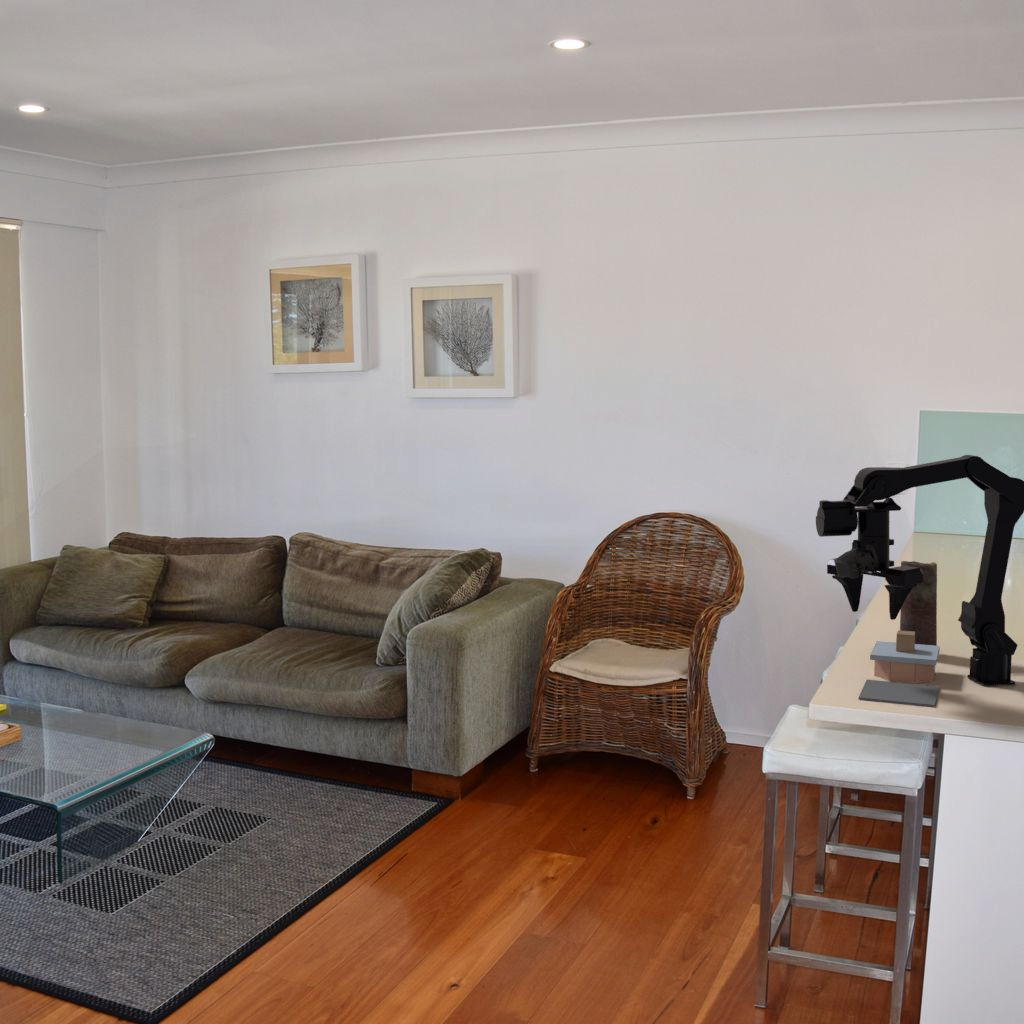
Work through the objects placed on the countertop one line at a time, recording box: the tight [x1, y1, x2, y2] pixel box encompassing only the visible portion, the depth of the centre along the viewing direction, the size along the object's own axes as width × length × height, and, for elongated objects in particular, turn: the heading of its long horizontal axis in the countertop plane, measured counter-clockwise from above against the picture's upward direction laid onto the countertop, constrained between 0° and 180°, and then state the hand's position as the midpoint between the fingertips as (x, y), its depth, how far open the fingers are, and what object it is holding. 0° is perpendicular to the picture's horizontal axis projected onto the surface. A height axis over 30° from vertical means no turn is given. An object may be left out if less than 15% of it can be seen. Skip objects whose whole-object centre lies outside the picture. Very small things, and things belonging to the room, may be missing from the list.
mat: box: [858, 679, 939, 708], centre depth 206 cm, size 13×13×1 cm
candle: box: [899, 560, 938, 646], centre depth 234 cm, size 8×7×20 cm
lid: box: [869, 629, 941, 666], centre depth 218 cm, size 12×12×4 cm
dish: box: [873, 660, 936, 684], centre depth 219 cm, size 11×11×4 cm
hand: (873, 615), depth 212 cm, fingers open, 9 cm apart
